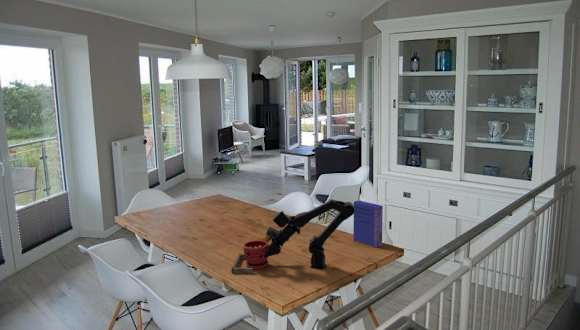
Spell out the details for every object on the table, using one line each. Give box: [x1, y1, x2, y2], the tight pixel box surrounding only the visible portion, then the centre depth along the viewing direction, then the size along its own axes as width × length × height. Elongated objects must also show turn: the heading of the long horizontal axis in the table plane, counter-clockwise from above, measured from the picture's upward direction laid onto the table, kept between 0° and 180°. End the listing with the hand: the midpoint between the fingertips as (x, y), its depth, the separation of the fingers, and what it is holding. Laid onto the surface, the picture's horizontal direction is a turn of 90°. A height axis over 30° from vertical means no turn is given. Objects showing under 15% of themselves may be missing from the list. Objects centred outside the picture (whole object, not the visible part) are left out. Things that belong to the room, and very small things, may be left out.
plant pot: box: [242, 240, 269, 270], centre depth 242 cm, size 13×13×12 cm
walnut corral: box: [231, 253, 254, 275], centre depth 243 cm, size 11×20×2 cm, turn 176°
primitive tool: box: [259, 235, 272, 247], centre depth 281 cm, size 19×6×4 cm, turn 160°
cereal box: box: [353, 200, 384, 249], centre depth 271 cm, size 17×5×24 cm, turn 41°
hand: (265, 253), depth 241 cm, fingers open, 9 cm apart
